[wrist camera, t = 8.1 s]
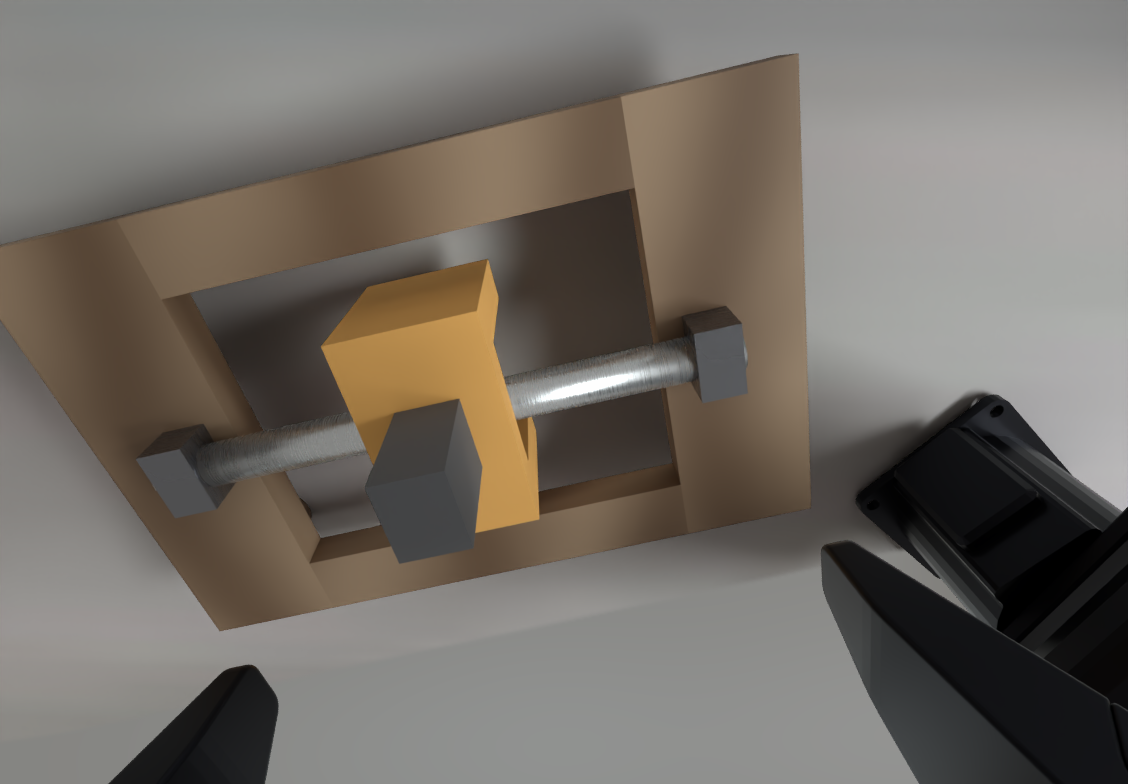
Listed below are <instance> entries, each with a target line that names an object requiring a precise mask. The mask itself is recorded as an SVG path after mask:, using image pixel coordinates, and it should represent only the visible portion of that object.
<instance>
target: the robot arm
mask: <svg viewBox="0 0 1128 784" xmlns="http://www.w3.org/2000/svg"><path fill="white" fill-rule="evenodd" d="M995 406H996V407H995ZM993 407H995V408H994V409H993V410H992V408H993ZM991 410H992V411H991ZM872 500H873V501H872ZM870 501H872V502H871V503H869V502H870ZM868 503H869V504H868ZM856 505H857V506H858V507H859V509H860V510H861V511H862V513H863V514H865V515H866V516H867V517H868V518H869V519H870V520H871V521H873V522H874V523H875V524H876V525H877V526H878V527H879V528H881V529H882V530H883V531H884V532H885V533H886V534H887V535H889V536H890V537H891V538H892V539H893V540H894V541H895V542H897V543H898V544H899V545H900V546H901V547H902V548H903V549H905V550H906V551H907V552H908V553H909V554H910V555H912V556H913V557H914V558H915V559H916V560H917V561H918V562H919V563H921V564H922V565H923V566H924V567H925V568H926V569H928V570H929V571H930V572H931V573H932V574H933V575H934V576H936V577H937V578H939V579H942V580H943V582H944V583H945V584H946V585H947V586H948V588H949V589H950V590H951V591H952V592H953V593H954V595H955V596H956V597H957V598H958V599H959V601H960V602H961V603H962V604H963V605H964V607H965V608H966V609H967V610H968V611H969V613H968V612H967V611H965V610H964V609H962V608H960V607H959V606H957V605H955V604H954V603H952V602H950V601H949V600H947V599H946V598H944V597H942V596H941V595H939V594H938V593H936V592H934V591H933V590H931V589H929V588H928V587H926V586H925V585H923V584H921V583H920V582H918V581H916V580H915V579H913V578H911V577H910V576H908V575H907V574H905V573H903V572H902V571H900V570H899V569H897V568H895V567H894V566H892V565H890V564H888V563H887V562H886V561H884V560H882V559H881V558H879V557H877V556H876V555H874V554H873V553H871V552H869V551H868V550H866V549H864V548H863V547H861V546H860V545H858V544H856V543H855V542H852V541H849V540H844V541H839V542H835V543H830V544H826V545H824V546H823V547H822V550H821V566H822V585H823V591H824V594H825V597H826V600H827V602H828V604H829V606H830V609H831V611H832V614H833V616H834V618H835V620H836V622H837V625H838V627H839V629H840V632H841V634H842V636H843V638H844V641H845V643H846V645H847V647H848V649H849V651H850V654H851V656H852V659H853V661H854V663H855V665H856V667H857V670H858V672H859V674H860V677H861V679H862V681H863V683H864V685H865V688H866V690H867V692H868V694H869V696H870V698H871V700H872V702H873V704H874V706H875V708H876V709H877V711H878V713H879V715H880V717H881V718H882V720H883V722H884V724H885V725H886V727H887V729H888V731H889V732H890V734H891V736H892V737H893V739H894V741H895V743H896V744H897V746H898V748H899V750H900V751H901V753H902V755H903V757H904V758H905V760H906V762H907V764H908V765H909V767H910V769H911V771H912V772H913V774H914V776H915V778H916V779H917V781H918V783H919V784H1128V507H1127V508H1126V509H1125V510H1124V511H1123V512H1122V511H1121V510H1119V509H1118V508H1116V507H1115V506H1114V505H1112V504H1111V503H1109V502H1108V501H1107V500H1105V499H1104V498H1102V497H1101V496H1100V495H1098V494H1097V493H1095V492H1094V491H1093V490H1091V489H1090V488H1089V487H1087V486H1086V485H1084V484H1083V483H1082V482H1080V481H1079V480H1077V479H1076V478H1075V477H1073V476H1072V475H1071V473H1070V472H1069V471H1068V470H1067V469H1066V468H1065V467H1064V465H1063V464H1062V463H1061V462H1060V461H1059V460H1058V458H1057V457H1056V456H1055V455H1054V454H1053V453H1052V451H1051V450H1050V449H1049V448H1048V447H1047V446H1046V445H1045V443H1044V442H1043V441H1042V440H1041V439H1040V438H1039V436H1038V435H1037V434H1036V433H1035V432H1034V431H1033V429H1032V428H1031V427H1030V426H1029V425H1028V424H1027V423H1026V421H1025V420H1024V419H1023V418H1022V417H1021V416H1020V414H1019V413H1018V412H1017V411H1016V410H1015V409H1014V407H1013V406H1012V405H1011V404H1010V403H1009V402H1008V401H1006V400H1005V399H1003V398H1002V397H1000V396H999V395H994V394H993V395H989V396H986V397H985V398H983V399H981V400H980V401H979V402H978V403H976V404H975V405H974V406H972V407H971V408H970V409H968V410H967V411H966V412H965V413H963V414H962V415H961V416H959V417H958V418H957V419H956V420H954V421H953V422H952V423H950V424H949V425H948V426H946V427H945V428H944V429H943V430H941V431H940V432H939V433H937V434H936V435H935V436H933V437H932V438H931V439H930V440H928V441H927V442H926V443H924V444H923V445H922V446H920V447H919V448H918V449H917V450H915V451H914V452H913V453H911V454H910V455H909V456H907V457H906V458H905V459H904V460H902V461H901V462H900V463H898V464H897V465H896V466H894V467H893V468H892V469H891V470H889V471H888V472H887V473H885V474H884V475H883V476H881V477H880V478H879V479H878V480H876V481H875V482H874V483H872V484H871V485H870V486H868V487H867V488H866V489H865V490H863V491H862V492H861V493H860V494H859V495H858V496H857V498H856ZM277 716H278V699H277V697H276V694H275V693H274V691H273V690H272V688H271V687H270V685H269V684H268V683H267V681H266V680H265V678H264V677H263V676H262V674H261V673H260V671H259V670H258V669H257V668H256V667H255V666H253V665H243V666H239V667H234V668H229V669H227V670H225V671H223V672H222V673H221V674H220V675H219V676H218V677H217V678H216V679H215V680H214V681H213V682H212V683H211V684H210V685H209V686H208V687H207V688H206V689H205V690H204V691H203V692H202V693H200V694H199V695H198V696H197V697H196V698H195V699H194V700H193V701H192V702H191V703H190V704H189V705H188V706H187V707H186V708H185V709H184V710H183V711H182V712H181V713H180V714H179V715H178V716H177V717H176V718H175V719H174V720H173V721H172V722H171V723H170V724H169V725H168V726H167V727H166V728H165V729H164V730H163V731H162V732H161V733H160V734H159V735H158V736H157V737H156V738H155V739H154V740H153V741H152V742H151V743H149V745H147V747H145V749H143V750H142V751H141V752H140V753H139V754H138V755H137V756H136V757H135V758H134V759H133V760H132V761H131V762H130V763H129V764H128V765H127V766H126V767H125V768H124V769H123V770H122V771H121V772H120V773H119V774H118V775H117V776H116V777H115V778H114V779H113V780H112V781H111V782H110V783H109V784H265V780H266V775H267V770H268V764H269V758H270V753H271V748H272V743H273V737H274V732H275V726H276V721H277Z"/></svg>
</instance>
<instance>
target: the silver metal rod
mask: <svg viewBox="0 0 1128 784" xmlns="http://www.w3.org/2000/svg"><path fill="white" fill-rule="evenodd" d="M682 323H683V331H684V337H682V338H677V339H673V340H668V341H664V342H659V343H655V344H650V345H646V346H642V347H637V348H633V349H628V350H624V351H619V352H615V353H610V354H606V355H601V356H597V357H592V358H588V359H583V360H579V361H574V362H570V363H565V364H561V365H557V366H552V367H548V368H543V369H539V370H534V371H530V372H525V373H521V374H516V375H512V376H507V377H504V381H505V384H506V388H507V391H508V394H509V398H510V401H511V405H512V408H513V411H514V415H515V418H516V420H520V419H525V418H529V417H534V416H538V415H543V414H547V413H552V412H556V411H561V410H566V409H570V408H575V407H579V406H584V405H588V404H593V403H597V402H602V401H607V400H611V399H616V398H620V397H625V396H629V395H634V394H638V393H643V392H647V391H652V390H657V389H661V388H666V387H670V386H675V385H679V384H684V383H688V382H691V384H692V386H693V387H694V389H695V391H696V393H697V394H698V396H699V398H700V400H701V402H702V403H707V402H711V401H716V400H721V399H725V398H730V397H734V396H739V395H743V394H748V389H747V377H746V369H747V366H748V356H747V349H746V344H745V341H744V337H743V328H742V323H741V322H740V321H739V319H738V318H737V317H736V316H735V315H734V314H733V313H732V312H731V311H730V310H729V308H728V307H727V306H723V307H719V308H715V309H710V310H706V311H701V312H697V313H692V314H688V315H683V316H682ZM365 453H368V452H367V450H366V448H365V446H364V443H363V441H362V439H361V437H360V434H359V432H358V430H357V427H356V425H355V423H354V421H353V418H352V416H351V414H350V412H346V413H342V414H337V415H333V416H328V417H324V418H319V419H315V420H310V421H306V422H301V423H297V424H292V425H288V426H284V427H279V428H275V429H270V430H266V431H261V432H257V433H252V434H248V435H243V436H239V437H234V438H230V439H225V440H221V441H216V442H214V441H213V439H212V437H211V436H210V434H209V432H208V430H207V429H206V427H205V425H204V424H199V425H195V426H190V427H186V428H182V429H177V430H173V431H168V432H164V433H162V434H161V435H160V436H159V437H158V438H157V439H156V440H154V441H153V442H152V443H151V444H150V445H149V446H148V447H147V448H146V449H145V450H144V451H143V452H142V453H141V454H140V455H139V456H138V457H137V458H136V461H137V462H138V464H139V465H140V467H141V468H142V470H143V471H144V473H145V474H146V476H147V477H148V479H149V480H150V482H151V483H152V485H153V487H154V488H155V490H156V491H157V492H158V494H159V495H160V497H161V498H162V499H163V501H164V502H165V504H166V505H167V507H168V508H169V510H170V511H171V513H172V514H173V516H174V517H175V518H179V517H184V516H188V515H193V514H198V513H202V512H207V511H211V510H216V509H217V508H218V507H219V506H220V504H221V503H222V501H223V500H224V499H225V497H226V496H227V495H228V493H229V492H230V490H231V489H232V488H233V486H234V485H235V483H236V482H238V481H243V480H247V479H252V478H256V477H261V476H265V475H270V474H274V473H279V472H284V471H288V470H293V469H297V468H302V467H306V466H311V465H315V464H320V463H325V462H329V461H334V460H338V459H343V458H347V457H352V456H356V455H361V454H365Z"/></svg>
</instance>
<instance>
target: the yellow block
mask: <svg viewBox="0 0 1128 784" xmlns="http://www.w3.org/2000/svg"><path fill="white" fill-rule="evenodd" d="M498 300H499V297H498V294H497V290H496V286H495V283H494V279H493V276H492V272H491V269H490V265H489V261H488V259H485V260H481V261H477V262H472V263H468V264H464V265H459V266H455V267H451V268H446V269H442V270H438V271H434V272H429V273H425V274H421V275H416V276H412V277H408V278H403V279H399V280H395V281H391V282H386V283H382V284H378V285H373V286H369V287H367V288H366V290H365V291H364V292H363V293H362V295H361V296H360V297H359V299H358V300H357V301H356V302H355V304H354V305H353V306H352V307H351V309H350V310H349V311H348V313H347V314H346V315H345V316H344V318H343V319H342V320H341V321H340V323H339V324H338V325H337V327H336V328H335V329H334V330H333V332H332V333H331V334H330V336H329V337H328V338H327V339H326V341H325V342H324V343H323V344H322V346H321V348H322V350H323V353H324V355H325V357H326V360H327V362H328V364H329V366H330V369H331V371H332V373H333V375H334V378H335V380H336V382H337V384H338V387H339V389H340V391H341V393H342V396H343V398H344V400H345V403H346V405H347V407H348V409H349V412H350V414H351V416H352V418H353V421H354V423H355V425H356V427H357V430H358V432H359V434H360V437H361V439H362V441H363V443H364V446H365V448H366V450H367V452H368V455H369V457H370V459H371V461H372V464H373V468H372V470H371V473H370V475H369V478H368V480H367V483H366V485H365V490H366V493H367V495H368V497H369V499H370V501H371V504H372V506H373V508H374V510H375V512H376V514H377V517H378V519H379V521H380V523H381V525H382V527H383V530H384V532H385V534H386V536H387V538H388V541H389V543H390V545H391V547H392V549H393V551H394V554H395V556H396V558H397V560H398V562H399V564H402V563H406V562H411V561H416V560H421V559H426V558H430V557H435V556H440V555H445V554H449V553H454V552H459V551H464V550H468V549H473V548H474V540H475V533H478V532H482V531H487V530H492V529H497V528H501V527H506V526H511V525H516V524H520V523H525V522H530V521H535V520H539V494H538V465H537V437H536V430H535V426H534V422H533V419H532V417H529V418H525V419H520V420H516V418H515V415H514V411H513V408H512V405H511V401H510V398H509V394H508V391H507V388H506V384H505V381H504V377H503V374H502V371H501V367H500V364H499V360H498V357H497V354H496V350H495V347H494V343H493V341H494V333H495V325H496V316H497V308H498Z"/></svg>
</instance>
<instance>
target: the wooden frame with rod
mask: <svg viewBox="0 0 1128 784" xmlns="http://www.w3.org/2000/svg"><path fill="white" fill-rule="evenodd" d="M628 189H629V194H630V201H631V207H632V213H633V220H634V226H635V232H636V238H637V245H638V251H639V257H640V263H641V270H642V276H643V282H644V289H645V295H646V301H647V307H648V314H649V320H650V326H651V332H652V339H653V344H655V343H659V342H664V341H668V340H673V339H677V338H682V337H684V331H683V323H682V316H683V315H688V314H692V313H697V312H701V311H706V310H710V309H715V308H719V307H723V306H727V307H728V308H729V310H730V311H731V312H732V313H733V314H734V315H735V316H736V317H737V318H738V319H739V321H740V322H741V323H742V328H743V337H744V341H745V344H746V349H747V356H748V366H747V369H746V377H747V389H748V394H743V395H739V396H734V397H730V398H725V399H721V400H716V401H711V402H707V403H702V402H701V400H700V398H699V396H698V394H697V393H696V391H695V389H694V387H693V386H692V384H691V382H688V383H684V384H679V385H675V386H670V387H666V388H661V395H662V401H663V408H664V414H665V420H666V427H667V433H668V439H669V445H670V452H671V458H672V463H670V464H665V465H661V466H656V467H651V468H647V469H642V470H637V471H633V472H628V473H623V474H619V475H614V476H609V477H605V478H600V479H595V480H590V481H586V482H581V483H576V484H572V485H567V486H562V487H558V488H553V489H548V490H544V491H539V492H538V494H539V520H535V521H530V522H525V523H520V524H516V525H511V526H506V527H501V528H497V529H492V530H487V531H482V532H478V533H475V540H474V548H473V549H468V550H464V551H459V552H454V553H449V554H445V555H440V556H435V557H430V558H426V559H421V560H416V561H411V562H406V563H402V564H399V562H398V560H397V558H396V556H395V554H394V551H393V549H392V547H391V545H390V543H389V541H388V538H387V536H386V534H385V532H384V530H383V527H382V525H380V526H375V527H371V528H366V529H361V530H357V531H352V532H347V533H343V534H338V535H333V536H329V537H324V538H320V536H319V534H318V532H317V531H316V529H315V527H314V525H313V523H312V521H311V518H312V515H311V511H310V508H309V507H308V505H307V504H306V503H305V502H304V501H303V500H302V499H300V498H299V497H298V495H297V493H296V491H295V489H294V488H293V486H292V484H291V482H290V480H289V478H288V476H287V474H286V473H285V471H284V472H279V473H274V474H270V475H265V476H261V477H256V478H252V479H247V480H243V481H238V482H236V483H235V485H234V486H233V488H232V489H231V490H230V492H229V493H228V495H227V496H226V497H225V499H224V500H223V501H222V503H221V504H220V506H219V507H218V508H217V509H216V510H211V511H207V512H202V513H198V514H193V515H188V516H184V517H179V518H175V517H174V516H173V514H172V513H171V511H170V510H169V508H168V507H167V505H166V504H165V502H164V501H163V499H162V498H161V497H160V495H159V494H158V492H157V491H156V490H155V488H154V487H153V485H152V483H151V482H150V480H149V479H148V477H147V476H146V474H145V473H144V471H143V470H142V468H141V467H140V465H139V464H138V462H137V461H136V458H137V457H138V456H139V455H140V454H141V453H142V452H143V451H144V450H145V449H146V448H147V447H148V446H149V445H150V444H151V443H152V442H153V441H154V440H156V439H157V438H158V437H159V436H160V435H161V434H162V433H164V432H168V431H173V430H177V429H182V428H186V427H190V426H195V425H199V424H204V425H205V427H206V429H207V430H208V432H209V434H210V436H211V437H212V439H213V441H214V442H216V441H221V440H225V439H230V438H234V437H239V436H243V435H248V434H252V433H257V432H261V431H263V429H262V428H261V426H260V424H259V422H258V420H257V418H256V416H255V415H254V413H253V411H252V409H251V407H250V405H249V403H248V401H247V400H246V398H245V396H244V394H243V392H242V390H241V388H240V386H239V385H238V383H237V381H236V379H235V377H234V375H233V373H232V371H231V370H230V368H229V366H228V364H227V362H226V360H225V358H224V356H223V355H222V353H221V351H220V349H219V347H218V345H217V343H216V341H215V340H214V338H213V336H212V334H211V332H210V330H209V328H208V327H207V325H206V323H205V321H204V319H203V317H202V315H201V313H200V312H199V310H198V308H197V306H196V304H195V302H194V300H193V298H192V297H191V295H190V293H191V292H195V291H200V290H204V289H208V288H212V287H216V286H221V285H225V284H229V283H233V282H238V281H242V280H246V279H250V278H255V277H259V276H263V275H267V274H272V273H276V272H280V271H284V270H289V269H293V268H297V267H301V266H306V265H310V264H314V263H318V262H322V261H327V260H331V259H335V258H339V257H344V256H348V255H352V254H356V253H361V252H365V251H369V250H373V249H378V248H382V247H386V246H390V245H395V244H399V243H403V242H407V241H411V240H416V239H420V238H424V237H428V236H433V235H437V234H441V233H445V232H450V231H454V230H458V229H462V228H467V227H471V226H475V225H479V224H484V223H488V222H492V221H496V220H500V219H505V218H509V217H513V216H517V215H522V214H526V213H530V212H534V211H539V210H543V209H547V208H551V207H556V206H560V205H564V204H568V203H573V202H577V201H581V200H585V199H590V198H594V197H598V196H602V195H606V194H611V193H615V192H619V191H623V190H628ZM0 320H1V322H2V323H3V325H4V326H5V327H6V329H7V330H8V332H9V333H10V335H11V336H12V337H13V339H14V340H15V342H16V343H17V344H18V346H19V347H20V349H21V350H22V352H23V353H24V354H25V356H26V357H27V359H28V360H29V361H30V363H31V364H32V366H33V367H34V369H35V370H36V371H37V373H38V374H39V376H40V377H41V378H42V380H43V381H44V383H45V384H46V386H47V387H48V388H49V390H50V391H51V393H52V394H53V395H54V397H55V398H56V400H57V401H58V403H59V404H60V405H61V407H62V408H63V410H64V411H65V412H66V414H67V415H68V417H69V418H70V420H71V421H72V422H73V424H74V425H75V427H76V428H77V430H78V431H79V432H80V434H81V435H82V437H83V438H84V439H85V441H86V442H87V444H88V445H89V447H90V448H91V449H92V451H93V452H94V454H95V455H96V456H97V458H98V459H99V461H100V462H101V464H102V465H103V466H104V468H105V469H106V471H107V472H108V473H109V475H110V476H111V478H112V479H113V481H114V482H115V483H116V485H117V486H118V488H119V489H120V490H121V492H122V493H123V495H124V496H125V498H126V499H127V500H128V502H129V503H130V505H131V506H132V507H133V509H134V510H135V512H136V513H137V515H138V516H139V517H140V519H141V520H142V522H143V523H144V524H145V526H146V527H147V529H148V530H149V532H150V533H151V534H152V536H153V537H154V539H155V540H156V541H157V543H158V544H159V546H160V547H161V549H162V550H163V551H164V553H165V554H166V556H167V557H168V558H169V560H170V561H171V563H172V564H173V566H174V567H175V568H176V570H177V571H178V573H179V574H180V575H181V577H182V578H183V580H184V581H185V583H186V584H187V585H188V587H189V588H190V590H191V591H192V593H193V594H194V595H195V597H196V598H197V600H198V601H199V602H200V604H201V605H202V607H203V608H204V610H205V611H206V612H207V614H208V615H209V617H210V618H211V619H212V621H213V622H214V624H215V625H216V627H217V628H218V629H219V631H223V630H228V629H233V628H238V627H243V626H247V625H252V624H257V623H262V622H267V621H271V620H276V619H281V618H286V617H291V616H295V615H300V614H305V613H310V612H315V611H319V610H324V609H329V608H334V607H339V606H343V605H348V604H353V603H358V602H363V601H367V600H372V599H377V598H382V597H387V596H392V595H396V594H401V593H406V592H411V591H416V590H420V589H425V588H430V587H435V586H440V585H444V584H449V583H454V582H459V581H464V580H468V579H473V578H478V577H483V576H488V575H492V574H497V573H502V572H507V571H512V570H516V569H521V568H526V567H531V566H536V565H540V564H545V563H550V562H555V561H560V560H564V559H569V558H574V557H579V556H584V555H588V554H593V553H598V552H603V551H608V550H613V549H617V548H622V547H627V546H632V545H637V544H641V543H646V542H651V541H656V540H661V539H665V538H670V537H675V536H680V535H685V534H689V533H694V532H699V531H704V530H709V529H713V528H718V527H723V526H728V525H733V524H737V523H742V522H747V521H752V520H757V519H761V518H766V517H771V516H776V515H781V514H785V513H790V512H795V511H800V510H805V509H809V508H811V485H810V449H809V413H808V377H807V342H806V306H805V270H804V234H803V198H802V162H801V127H800V91H799V55H798V54H789V55H779V56H774V57H770V58H766V59H762V60H758V61H754V62H750V63H746V64H742V65H737V66H733V67H729V68H725V69H721V70H717V71H713V72H709V73H705V74H700V75H696V76H692V77H688V78H684V79H680V80H676V81H672V82H668V83H663V84H659V85H655V86H651V87H647V88H643V89H639V90H635V91H631V92H627V93H622V94H618V95H614V96H610V97H606V98H602V99H598V100H594V101H590V102H585V103H581V104H577V105H573V106H569V107H565V108H561V109H557V110H553V111H548V112H544V113H540V114H536V115H532V116H528V117H524V118H520V119H516V120H512V121H507V122H503V123H499V124H495V125H491V126H487V127H483V128H479V129H475V130H470V131H466V132H462V133H458V134H454V135H450V136H446V137H442V138H438V139H433V140H429V141H425V142H421V143H417V144H413V145H409V146H405V147H401V148H397V149H392V150H388V151H384V152H380V153H376V154H372V155H368V156H364V157H360V158H355V159H351V160H347V161H343V162H339V163H335V164H331V165H327V166H323V167H318V168H314V169H310V170H306V171H302V172H298V173H294V174H290V175H286V176H282V177H277V178H273V179H269V180H265V181H261V182H257V183H253V184H249V185H245V186H240V187H236V188H232V189H228V190H224V191H220V192H216V193H212V194H208V195H204V196H199V197H195V198H191V199H187V200H183V201H179V202H175V203H171V204H167V205H162V206H158V207H154V208H150V209H146V210H142V211H138V212H134V213H130V214H125V215H121V216H117V217H113V218H109V219H105V220H101V221H97V222H93V223H89V224H84V225H80V226H76V227H72V228H68V229H64V230H60V231H56V232H52V233H47V234H43V235H39V236H35V237H31V238H27V239H23V240H19V241H15V242H10V243H6V244H2V245H0Z"/></svg>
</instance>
